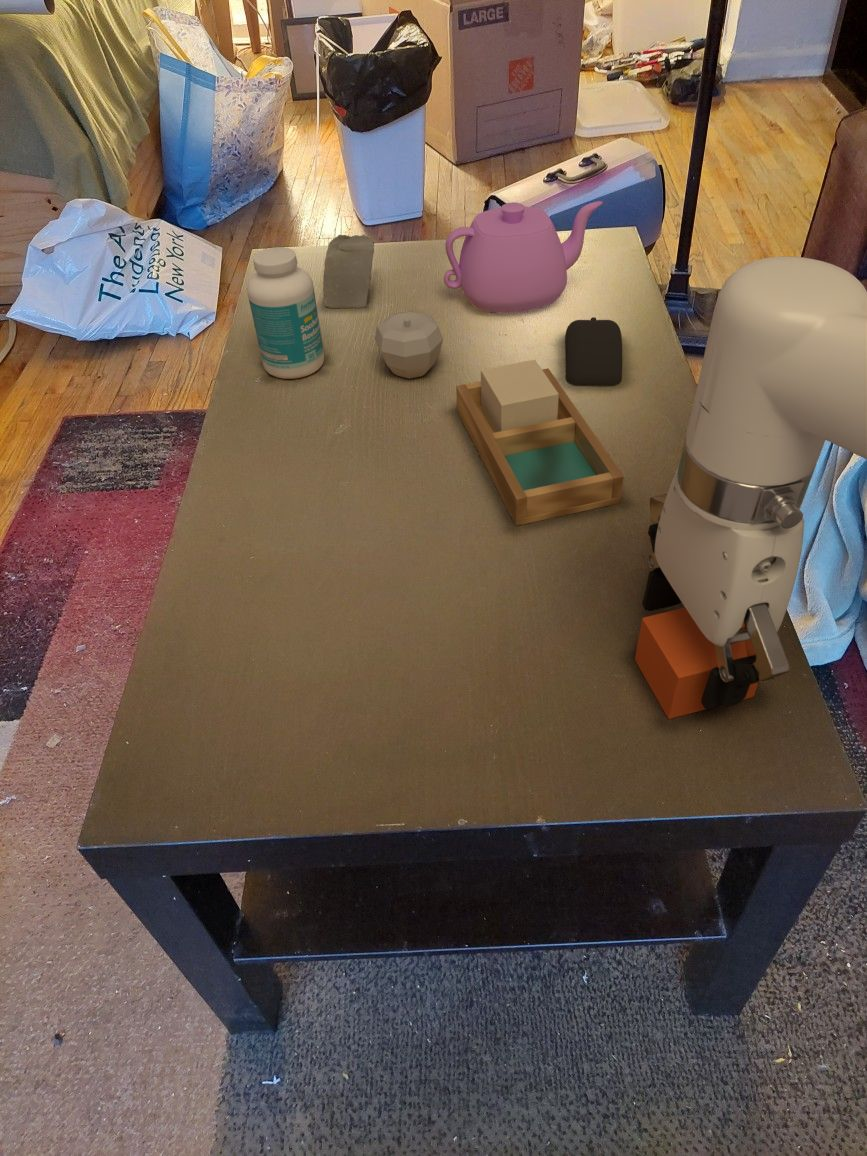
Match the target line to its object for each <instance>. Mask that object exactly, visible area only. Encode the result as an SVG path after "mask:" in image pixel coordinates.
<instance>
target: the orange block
mask: <svg viewBox="0 0 867 1156" xmlns="http://www.w3.org/2000/svg"><path fill="white" fill-rule="evenodd" d="M744 627H745V625H744V621H743V624H742V627H741V628H744ZM730 645H731V651H732V658H733V660H735V659H739V658H743V657H747V652H746V646H745V641H741V642H736V643H732V644H730ZM634 656H635V657H634V661H635V662H636V665H637V666H638V668H639V670H640V672H641V673H642V676H643V677H644V679H645V681H646V682H647V684H648V686H649V687H650V689H651V691H652V693H653V695H654V697H655V698H656V700H657V701H658V704H659V705H660V707H661V709H662V710H663V712H664V714H665V716H666V717H667V719H668V720H672V719H675V718H678V717H682V716H687V715H690V714H693V713H697V712H701V711H705V710H707V709H705V708H704V706H703V705H702V703H701V700H702V699H701V698H702V695H703V692H704V689H705V686H706V683H707V680H708V677H709V674H710V671H711V670H712V669H713V668H715V667H718V664H717V657H716V651H715V645H714V643H712V642H711V641H709V640H708V639H707V638H706V637H705V636H704V634H703V633H702V632H701V630H700V629H699V627H698V626H697V624H696V623H695V621H694V620H693V618H692V617H691V615H690V614H689V612H688V611H687V609H686V608H685V607H682V608H677V609H674V610H670V611H665V612H661V613H656V614H652V615H649V616H644V617H642V618H641V624H640V629H639V634H638V640H637V645H636V650H635V655H634ZM759 683H760V682H758V683H754V684H750V687H749V689H748V692H747V695H746V697H745V698H744V699H743V700H742V701H744V700H748V699H751V698H754V697H755V695H756V692H757V689H758V686H759Z"/></svg>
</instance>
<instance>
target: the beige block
mask: <svg viewBox="0 0 867 1156" xmlns="http://www.w3.org/2000/svg"><path fill="white" fill-rule="evenodd" d="M542 369H543V368H542V367H541V366H540V365H539V363H538V362H537V360H536V359H530V360H525V361H520V362H514V363H509V364H504V365H498V366H493V367H489V368H488V367H487V368H483V369H480V381H481V410H482V412H483V414H484V416H485V417H486V419H487V421H488V423H489V425H490V427H491V428H492V430H493V432H494V433H496V432H500V431H505V430H510V429H515V428H520V427H525V426H530V425H535V424H540V423H545V422H550V421H555V420H557V415H558V398H559V394H558V392H557V391H556V389H555V388H554V386H553V385H552V383H551V382H550V381H549V379H548V378H547V376H546V375H545V373H544V372H543V370H542Z"/></svg>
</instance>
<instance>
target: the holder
mask: <svg viewBox="0 0 867 1156" xmlns="http://www.w3.org/2000/svg"><path fill="white" fill-rule="evenodd" d="M541 369H542V370H543V372H544V373H545V375H546V376H547V378H548V379H549V381H550V382H551V383H552V385H553V386H554V388H555V389H556V391H557V392H558V394H559V398H558V415H557V420H555V421H550V422H545V423H540V424H535V425H530V426H525V427H520V428H515V429H510V430H505V431H500V432H496V433H494V432H493V430H492V428H491V427H490V425H489V423H488V421H487V419H486V417H485V416H484V414H483V412H482V410H481V380H479V381H475V382H469V383H465V384H459V385H455V392H456V412H457V414H458V416H459V418H460V420H461V422H462V424H463V426H464V427H465V429H466V431H467V434H468V435H469V437H470V439H471V441H472V443H473V445H474V447H475V449H476V451H477V453H478V455H479V457H480V459H481V460H482V463H483V465H484V466H485V468H486V471H487V473H488V475H489V476H490V478H491V480H492V483H493V484H494V486H495V488H496V490H497V492H498V494H499V496H500V498H501V500H502V502H503V504H504V505H505V508H506V510H507V512H508V513H509V516H510V517H511V519H512V521H513V523H514V524H515V527H517V526H523V525H527V524H531V523H537V522H541V521H545V520H550V519H554V518H559V517H564V516H568V515H572V514H577V513H581V512H585V511H586V512H587V511H590V510H596V509H600V508H604V507H609V506H613V505H619V504H621V501H622V492H623V487H624V485H623V484H624V478H625V475H624V474H623V472H622V471H621V470H620V469H619V466H618V465H617V464H616V463H615V461H614V460H613V459H612V457H611V455H610V454H609V453H608V451H607V450H606V448H605V447H604V445H603V444H602V442H601V441H600V440H599V438H598V437H597V436H596V434H595V433H594V431H593V430H592V428H591V427H590V426H589V423H587V421H586V419H585V418H584V417H583V416H582V414H581V412H580V411H579V410H578V408H577V407H576V405H575V404H574V402H573V401H572V399H570V397H569V395H568V394H567V393H566V391H565V390H564V388H563V387H562V386H561V384H560V382H559V381H558V379H557V378H556V377H555V375H554V374H553V373H552V371H551V369H549V367H547V368H541Z"/></svg>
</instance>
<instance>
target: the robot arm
mask: <svg viewBox="0 0 867 1156" xmlns="http://www.w3.org/2000/svg"><path fill="white" fill-rule="evenodd" d="M703 353H704V355H703V359H702V362H701V367H700V372H699V378H698V381H697V386H696V390H695V395H694V398H693V403H692V407H691V413H690V418H689V421H688V423H687V424H688V425H687V428H686V434H685V438H684V443H683V447H682V451H681V456H680V460H679V464H678V466H677V468H676V470H675V473H674V475H673V477H672V480H671V483H670V485H669V488H668V489H667V490H668V491H667V493H665V494H659V495H656V496H651V497H650V498H649V514H650V521H651V523H652V524H650V525H649V526H648V530H647V534H648V536H649V540H650V544H651V550H652V552H651V553H650V552H649V553H648V555H647V564H648V567H649V568H650V569H651V570H649V572H648V574H647V575H648V576H647V578H646V579H647V580H646V584H645V589H644V594H643V598H642V603H641V605H642V607H643V608H644V610H645V611H646V612H647V611H648V612H652V611H657V610H661V609H665V608H671V607H675V606H679V605H681V604H682V605H683V606H684V608H686V609H687V611H688V612H689V614H690V615H691V617H692V618H693V620H694V621H695V623H696V624H697V626H698V627H699V629H700V630H701V632H702V633H703V634H704V636H705V637H706V638H707V639H708V640H709V641H711V642H712V643H714V645H715V651H716V657H717V664H718V667H715V668H713V669H712V670H711V671H710V674H709V677H708V680H707V683H706V686H705V689H704V692H703V695H702V698H701V699H702V700H701V703H702V705H703V706H704V708H705V709H706V710H710V709H713V708H717V707H723V708H728V707H733V706H734V707H735V706H736V705H739V704H740V703H741V702H743V701H744V700H745V699H744V698H745V697H746V695H747V692H748V689H749V687H750V684H754V683H758V682H759V683H763V682H765V681H769V680H774V679H775V678H777V677H780V676H784V675H785V674H788V672H790V664H789V663H790V662H789V661H788V658H787V655H786V653H785V649H784V647H783V645H782V642H781V640H780V636H779V634H778V631H779V630H780V627H781V626H782V623H783V621H784V618H785V615H786V612H787V610H788V607H789V603H790V600H791V597H792V594H793V591H794V588H795V587H794V586H795V583H796V581H797V580H796V579H797V576H798V571H799V567H800V562H801V556H802V551H803V543H804V536H805V535H804V533H805V520H804V513H803V512H802V511H801V510H800V509H801V508H802V505H803V502H804V499H805V496H806V494H807V492H808V488H809V486H810V482H811V480H812V478H813V475H814V472H815V469H816V467H817V463H818V461H819V458H820V456H821V453H822V451H823V448H824V446H825V443H826V441H827V442H829V443H831V444H832V445H833V444H834V445H836V446H837V447H840V448H842V449H843V450H846V451H849V452H851V453H852V454H854V455H856V456H858V457H860V458H863V459H865V460H867V289H866V288H865V286H864V285H863V283H862V282H861V281H860V280H859V279H857V277H855V275H853V274H852V273H851V272H849V271H848V270H845V269H844V268H842V267H840V266H837V265H835V264H832V263H829V262H826V261H823V260H818V259H814V258H810V257H809V258H808V257H804V256H803V257H802V256H789V255H788V256H786V255H785V256H772V257H765V258H764V257H763V258H760V259H756V260H753V261H751V262H748V263H747V264H744V265H742V266H741V267H738V268H737V269H736V270H735V271H733V273H732V274H730V275H729V276H728V277H727V279H725V281H724V283H723V285H722V286H721V288H720V290H719V291H718V294H717V300H716V302H715V305H714V309H713V313H712V317H711V323H710V327H709V331H708V336H707V340H706V345H705V350H704V352H703ZM743 621H744V625H745V627H744V628H741V627H742V624H743ZM741 641H745V646H746V652H747V657H743V658H739V659H735V660H733V658H732V651H731V645H730V644H732V643H736V642H741ZM759 683H758V684H759ZM743 699H744V700H743Z"/></svg>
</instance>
